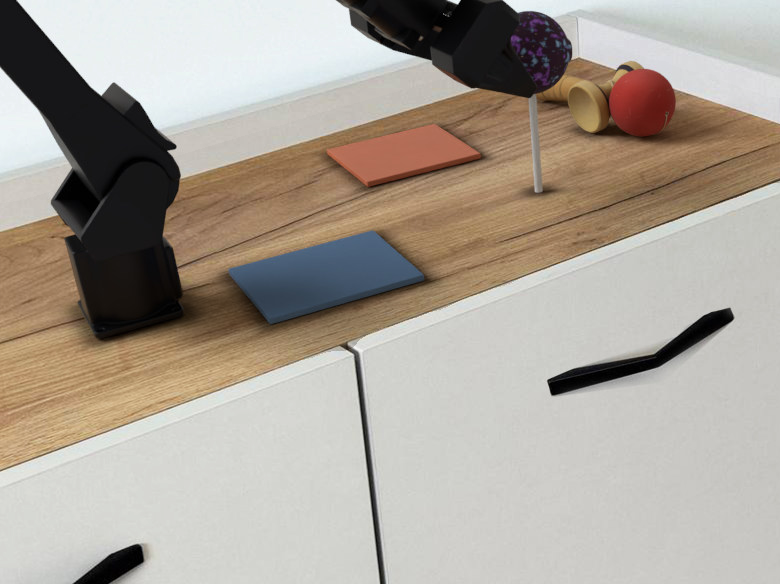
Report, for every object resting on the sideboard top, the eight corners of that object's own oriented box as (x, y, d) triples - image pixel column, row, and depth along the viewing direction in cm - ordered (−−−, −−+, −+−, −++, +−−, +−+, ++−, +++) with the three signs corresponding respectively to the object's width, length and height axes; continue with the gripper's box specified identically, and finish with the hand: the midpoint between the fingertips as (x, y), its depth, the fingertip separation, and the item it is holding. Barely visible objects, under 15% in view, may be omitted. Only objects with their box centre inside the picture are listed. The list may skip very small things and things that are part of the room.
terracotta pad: (367, 187, 114) (366, 181, 114) (327, 154, 122) (326, 149, 122) (481, 158, 118) (480, 153, 118) (435, 128, 126) (434, 123, 126)
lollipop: (510, 213, 107) (495, 29, 100) (489, 184, 113) (473, 8, 105) (590, 198, 109) (581, 16, 101) (565, 170, 114) (555, -4, 107)
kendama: (509, 124, 129) (629, 143, 116) (508, 58, 128) (630, 69, 114) (571, 118, 134) (694, 135, 120) (571, 54, 132) (696, 64, 118)
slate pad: (270, 324, 93) (269, 318, 93) (229, 274, 101) (227, 268, 101) (424, 280, 98) (424, 274, 97) (373, 235, 105) (373, 229, 105)
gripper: (483, -119, 87) (627, 15, 97) (364, -147, 101) (501, -28, 111) (390, 25, 88) (543, 142, 98) (286, -23, 102) (428, 84, 112)
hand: (503, 78), depth 105 cm, fingers open, 9 cm apart
